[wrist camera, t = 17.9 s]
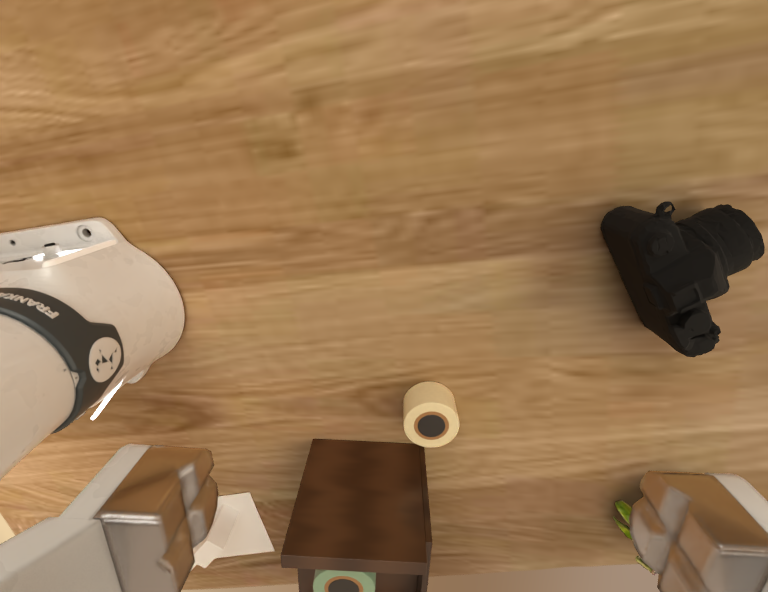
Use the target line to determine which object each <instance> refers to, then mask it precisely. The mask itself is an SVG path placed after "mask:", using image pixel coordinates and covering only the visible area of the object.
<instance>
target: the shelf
mask: <svg viewBox="0 0 768 592" xmlns="http://www.w3.org/2000/svg"><path fill="white" fill-rule="evenodd" d="M431 549H432V535H431V523H430V511H429V499H428V487H427V476H426V464H425V452H424V447H422V446H419V445H417V444H406V443H386V442H366V441H346V440H326V439H313V441H312V444H311V448H310V452H309V455H308V459H307V462H306V466H305V470H304V473H303V477H302V480H301V484H300V488H299V491H298V495H297V498H296V502H295V506H294V509H293V513H292V516H291V520H290V524H289V527H288V531H287V534H286V538H285V542H284V545H283V549H282V552H281V565H282V568H298V581H299V592H314V590H313V581H314V576H315V570H316V569H318V570H336V571H355V572H373V573H376V584H375V592H427V585H428V576H429V567H430V558H431Z"/></svg>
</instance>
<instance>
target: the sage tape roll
mask: <svg viewBox="0 0 768 592" xmlns="http://www.w3.org/2000/svg"><path fill="white" fill-rule="evenodd" d="M375 584H376V573H373V572H355V571H336V570H318V569H316V570H315V576H314V581H313V590H314V592H375Z"/></svg>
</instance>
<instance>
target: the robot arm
mask: <svg viewBox="0 0 768 592" xmlns="http://www.w3.org/2000/svg"><path fill="white" fill-rule="evenodd" d="M87 229H88V230H89V231H90V232H91V235H90V234H89V233H88V231H87ZM184 321H185V313H184V306H183V302H182V298H181V296H180V293H179V291H178V289H177V287H176V285H175V283H174V282H173V280H172V279H171V277H170V276H169V274H168V273H167V272H166V271H165V270H164V269H163V267H161V266H160V265H159V264H158V263H157V262H156V261H155V260H154V259H153V258H151V257H150V256H149V255H147V254H146V253H144V252H142V251H141V250H139V249H138V248H136V247H134V246H133V245H131V244H130V243H129V242H128V241H127V240H126V239H125V238H124V237H123V236H122V234H121V233H120V232H119V231H118V230H117V228H116V227H115V226H114V225H113V224H112V223H111V222H109V221H108V220H107V219H105V218H101V217H96V218H90V219H84V220H78V221H72V222H66V223H60V224H53V225H47V226H41V227H35V228H29V229H23V230H17V231H11V232H5V233H0V480H1V479H2V478H3V477H4V476H5V475H6V474H7V473H8V472H9V471H10V470H11V469H12V468H14V467H15V466H16V465H17V464H18V463H19V462H20V461H21V460H22V459H23V458H24V457H25V456H26V455H27V454H28V453H30V452H31V451H32V450H33V449H34V448H35V447H36V446H37V445H38V444H39V443H41V442H42V441H43V440H44V439H45V438H46V437H47V436H48V435H50V434H53V433H56V432H58V431H60V430H62V429H63V428H65V427H67V426H68V425H69V424H70V423H72V422H73V421H74V420H77V419H78V418H80V417H81V416H82V415H83V414H85V413H86V412H85V411H86V410H87V409H88V408H91V407H93V406H95V405H96V404H98V403H99V402H101V401H102V400H104V401H103V402H102V403H101V405H100V406H99V408H98V409H97V410H96V412H95V413H94V414H93V416H92V417H91V418H90V419H91V420H94V419H95V418H96V417H97V416H98V415H99V414H100V412H101V411H102V410H103V408H104V407H105V405H106V404H107V403H108V401H109V400H110V399H111V397H112V396H113V395H114V393H115V392H116V391H117V389H119V388H120V387H121V386H123V385H124V384H126V383H136V382H137V381H139V380H140V379H141V378H143V377H144V376H145V374H146V373H147V371H148V369H149V368H150V366H151V364H152V363H153V362H154V361H156V360H158V359H159V358H161V357H162V356H164V355H166V354H167V353H168V352H169V351H171V350H172V349H173V348H174V346H175V345H176V344H177V342H178V341H179V339H180V337H181V334H182V332H183V328H184ZM213 466H214V463H213V458H212V453H211V451H209V450H207V449H202V448H188V447H175V446H162V445H155V446H152V445H140V444H127V445H125V446H123V447H121V448H120V449H119V450H118V451H117V452H116V453H115V454H114V455H113V457H112V458H111V459H110V460H109V461H108V462H107V463H106V464H105V466H104V467H103V468H102V469H101V470H100V471H99V472H98V473H97V474H96V476H95V477H94V478H93V479H92V480H91V481H90V482H89V483H88V485H87V486H86V487H85V488H84V489H83V490H82V491H81V492H80V493H79V495H78V496H77V497H76V498H75V499H74V500H73V501H72V502H71V504H70V505H69V506H68V507H67V508H66V509H65V510H64V511H63V512H62V514H61V515H60V516H59V517H48V518H46V519H44V520H43V521H41V522H39V523H37V524H36V525H34V526H32V527H30V528H28V529H27V530H25V531H23V532H21V533H19V534H18V535H16V536H14V537H12V538H10V539H9V540H7V541H5V542H3V543H1V544H0V592H181V590H182V588H183V585H184V583H185V581H186V579H187V577H188V575H189V573H190V571H191V569H192V567H193V565H194V563H195V558H194V553H193V548H194V547H195V546H197V545H198V544H199V543H200V542H202V541H203V540H204V539H205V538H206V537H207V535H208V533H209V531H210V529H211V526H212V524H213V521H214V517H215V514H216V510H217V505H218V489H217V483H216V482H215V481H214V480H213V479H212V478H211V477H210V476H209V473H210V471H211V470H212V468H213ZM639 488H640V489H641V491H642V493H643V495H644V497H642V498H641V499H640V500H638V501H637V502H636V503H635V504H633V506H632V509H631V513H630V517H629V525H630V534H631V537H632V540H633V543H634V546H635V548H636V550H637V552H638V554H639V556H640V557H641V559H642V561H643V562H644V563H645V564H647V565H648V566H649V567H650V568H652V569H653V570H654V571H655V572H656V573H658V574H659V578H658V586H657V587H658V589H659V590H660V592H768V501H767V500H766V499H765V498H764V497H763V496H762V495H761V494H760V493H759V492H758V491H757V490H756V489H755V488H754V487H753V486H752V485H751V484H749V483H748V482H747V481H746V480H745V479H743V478H742V477H740V476H738V475H736V474H724V473H704V474H703V473H691V472H666V471H648V472H647V473H646V474H645V475H644V476H643V477H642V480H641V483H640V486H639Z"/></svg>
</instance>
